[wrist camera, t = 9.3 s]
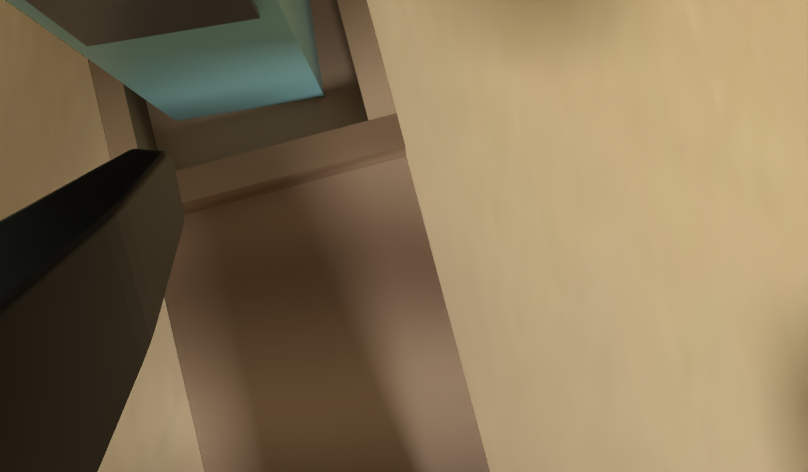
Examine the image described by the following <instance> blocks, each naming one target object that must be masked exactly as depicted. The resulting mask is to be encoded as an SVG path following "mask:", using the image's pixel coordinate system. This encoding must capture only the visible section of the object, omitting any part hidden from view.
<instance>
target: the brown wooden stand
mask: <svg viewBox="0 0 808 472" xmlns="http://www.w3.org/2000/svg"><path fill="white" fill-rule="evenodd" d="M310 5H311V11H312V18H313V24H314V31H315V37H316V44H317V51H318V57H319V64H320V70H321V77H322V83H323V90H324V97H321V98H315V99H309V100H302V101H296V102H290V103H284V104H278V105H272V106H265V107H259V108H253V109H247V110H241V111H235V112H229V113H222V114H216V115H210V116H204V117H198V118H192V119H185V120H179V121H175V120H173V119H172V118H171V117H169V116H168V115H166V114H165V113H164V112H162V111H161V110H159V109H158V108H156V107H155V106H154V105H152V104H151V103H149V102H148V101H147V100H145V99H144V98H142V97H141V96H140V95H138V94H137V93H135V92H134V91H133V90H131V89H130V88H128V87H127V86H126V85H124V84H123V83H121V82H120V81H118V80H117V79H116V78H114V77H113V76H111V75H110V74H109V73H107V72H106V71H104V70H103V69H102V68H100V67H99V66H97V65H96V64H95V63H93V62H92V61H90V60H89V59H88V62H89V66H90V71H91V75H92V79H93V84H94V88H95V93H96V97H97V101H98V106H99V110H100V114H101V119H102V123H103V128H104V132H105V136H106V141H107V145H108V149H109V154H110V158H111V160H112V159H114V158H116V157H117V156H119V155H121V154H123V153H125V152H127V151H129V150H131V149H149V150H160V151H166V152H167V153H169V154H170V155H171V157H172V159H173V161H174V164H175V168H176V173H177V178H178V183H179V188H180V194H181V199H182V204H183V209H184V223H183V229H182V233H181V237H180V240H179V244H178V248H177V251H176V255H175V258H174V262H173V266H172V269H171V273H170V277H169V280H168V284H167V287H166V291H165V295H164V297H165V302H166V306H167V310H168V315H169V319H170V323H171V328H172V332H173V336H174V341H175V345H176V349H177V354H178V358H179V362H180V367H181V371H182V375H183V379H184V384H185V388H186V392H187V397H188V401H189V405H190V410H191V414H192V418H193V423H194V427H195V431H196V436H197V440H198V444H199V449H200V453H201V457H202V462H203V466H204V470H205V472H490V471H489V467H488V463H487V460H486V456H485V452H484V448H483V445H482V441H481V437H480V433H479V429H478V426H477V422H476V418H475V414H474V411H473V407H472V403H471V399H470V396H469V392H468V388H467V384H466V380H465V377H464V373H463V369H462V365H461V362H460V358H459V354H458V350H457V347H456V343H455V339H454V335H453V331H452V328H451V324H450V320H449V316H448V313H447V309H446V305H445V301H444V298H443V294H442V290H441V286H440V282H439V279H438V275H437V271H436V267H435V264H434V260H433V256H432V252H431V249H430V245H429V241H428V237H427V233H426V230H425V226H424V222H423V218H422V215H421V211H420V207H419V203H418V200H417V196H416V192H415V188H414V184H413V181H412V177H411V173H410V169H409V166H408V162H407V158H406V151H405V144H404V140H403V136H402V132H401V129H400V125H399V121H398V117H397V114H396V110H395V106H394V102H393V98H392V95H391V91H390V87H389V83H388V80H387V76H386V72H385V68H384V65H383V61H382V57H381V53H380V49H379V46H378V42H377V38H376V34H375V31H374V27H373V23H372V19H371V16H370V12H369V8H368V4H367V1H366V0H310Z"/></svg>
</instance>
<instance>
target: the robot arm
mask: <svg viewBox="0 0 808 472" xmlns="http://www.w3.org/2000/svg"><path fill="white" fill-rule="evenodd" d="M183 223H184V209H183V204H182V199H181V194H180V188H179V183H178V178H177V173H176V168H175V164H174V161H173V159H172V157H171V155H170V154H169V153H167V152H166V151H160V150H149V149H131V150H129V151H127V152H125V153H123V154H121V155H119V156H117V157H116V158H114V159H112V160H110V161H108V162H107V163H105V164H103V165H101V166H99V167H97V168H96V169H94V170H92V171H90V172H88V173H87V174H85V175H83V176H81V177H79V178H77V179H76V180H74V181H72V182H70V183H68V184H67V185H65V186H63V187H61V188H59V189H57V190H56V191H54V192H52V193H50V194H48V195H47V196H45V197H43V198H41V199H39V200H37V201H36V202H34V203H32V204H30V205H28V206H27V207H25V208H23V209H21V210H19V211H17V212H16V213H14V214H12V215H10V216H8V217H7V218H5V219H3V220H1V221H0V472H97V471H98V469H99V467H100V464H101V462H102V459H103V457H104V455H105V452H106V450H107V447H108V445H109V443H110V440H111V438H112V435H113V433H114V431H115V428H116V426H117V423H118V421H119V419H120V416H121V414H122V411H123V409H124V406H125V404H126V402H127V399H128V397H129V394H130V392H131V390H132V387H133V385H134V382H135V380H136V378H137V375H138V373H139V370H140V368H141V366H142V363H143V361H144V358H145V356H146V353H147V350H148V348H149V345H150V343H151V340H152V336H153V333H154V330H155V327H156V323H157V320H158V316H159V313H160V309H161V305H162V302H163V298H164V295H165V291H166V287H167V284H168V280H169V277H170V273H171V269H172V266H173V262H174V258H175V255H176V251H177V248H178V244H179V240H180V237H181V233H182V229H183Z"/></svg>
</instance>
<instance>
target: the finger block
mask: <svg viewBox="0 0 808 472" xmlns="http://www.w3.org/2000/svg"><path fill="white" fill-rule="evenodd" d="M6 1H7V2H9V3H10V4H12V5H13V6H14V7H16V8H17V9H19V10H20V11H21V12H23V13H24V14H26V15H27V16H28V17H30V18H31V19H33V20H34V21H35V22H37V23H38V24H40V25H41V26H42V27H44V28H45V29H47V30H48V31H50V32H51V33H52V34H54V35H55V36H57V37H58V38H59V39H61V40H62V41H64V42H65V43H66V44H68V45H69V46H71V47H72V48H73V49H75V50H76V51H78V52H79V53H80V54H82V55H83V56H85V57H86V58H88V59H89V60H90V61H92V62H93V63H95V64H96V65H97V66H99V67H100V68H102V69H103V70H104V71H106V72H107V73H109V74H110V75H111V76H113V77H114V78H116V79H117V80H118V81H120V82H121V83H123V84H124V85H126V86H127V87H128V88H130V89H131V90H133V91H134V92H135V93H137V94H138V95H140V96H141V97H142V98H144V99H145V100H147V101H148V102H149V103H151V104H152V105H154V106H155V107H156V108H158V109H159V110H161V111H162V112H164V113H165V114H166V115H168V116H169V117H171V118H172V119H173V120H175V121H179V120H185V119H192V118H198V117H204V116H210V115H216V114H222V113H229V112H235V111H241V110H247V109H253V108H259V107H265V106H272V105H278V104H284V103H290V102H296V101H302V100H309V99H315V98H321V97H324V90H323V83H322V77H321V70H320V64H319V57H318V51H317V44H316V37H315V31H314V24H313V18H312V11H311V5H310V0H6Z"/></svg>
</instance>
